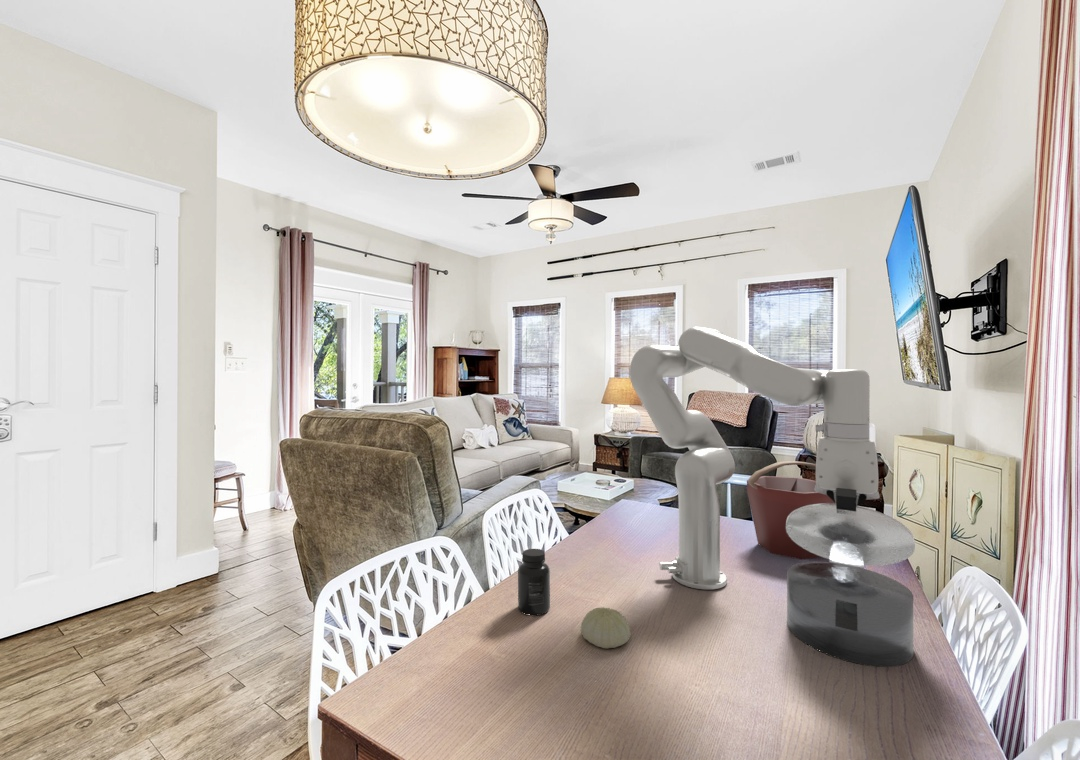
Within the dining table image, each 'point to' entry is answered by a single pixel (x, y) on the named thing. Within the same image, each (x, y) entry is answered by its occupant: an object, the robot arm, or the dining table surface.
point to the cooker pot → (850, 612)
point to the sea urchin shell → (605, 628)
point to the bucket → (780, 508)
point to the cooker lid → (850, 532)
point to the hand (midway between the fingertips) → (845, 525)
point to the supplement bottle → (533, 583)
